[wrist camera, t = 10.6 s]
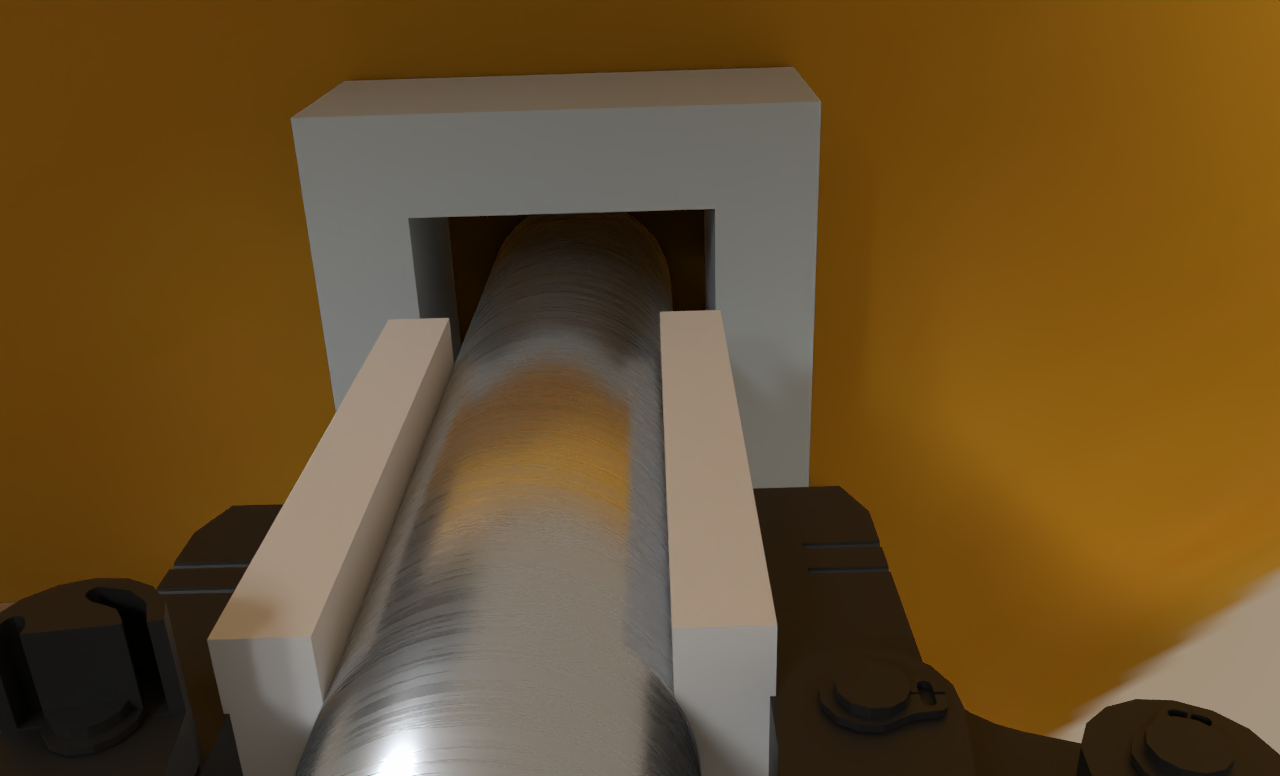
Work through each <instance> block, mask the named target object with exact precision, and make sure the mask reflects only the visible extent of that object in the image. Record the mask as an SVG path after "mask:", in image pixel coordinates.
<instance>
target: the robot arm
mask: <svg viewBox="0 0 1280 776" xmlns="http://www.w3.org/2000/svg"><path fill="white" fill-rule="evenodd" d="M660 342H661V373H662V399H663V424H664V450H665V476H666V502H667V528H668V553H669V579H670V605H671V631H672V657H673V682H674V698H675V700H676V701H677V703H678V704H679V706H680V708H681V709H682V711H683V712H684V714H685V715H686V718H687V720H688V722H689V724H690V726H691V729H692V731H693V733H694V736H695V740H696V743H697V747H698V751H699V754H700V765H701V775H702V776H1280V755H1279V754H1278V753H1277V752H1276V751H1275V750H1274V749H1272V748H1271V747H1270V746H1269V745H1268V744H1266V743H1265V742H1264V741H1263V740H1262V739H1260V738H1259V737H1258V736H1257V735H1256V734H1255V733H1253V732H1252V731H1251V730H1250V729H1248V728H1246V727H1244V726H1242V725H1240V724H1238V723H1236V722H1234V721H1232V720H1230V719H1228V718H1226V717H1224V716H1222V715H1220V714H1218V713H1216V712H1214V711H1211V710H1208V709H1203V708H1200V707H1196V706H1192V705H1188V704H1185V703H1181V702H1177V701H1172V700H1141V699H1135V700H1131V701H1128V702H1124V703H1120V704H1116V705H1112V706H1108V707H1106V708H1104V709H1103V710H1102V711H1101V712H1100V713H1098V714H1097V715H1096V716H1095V717H1094V718H1092V719H1091V720H1090V721H1089V722H1087V724H1086V728H1085V732H1084V735H1083V739H1082V743H1081V744H1080V743H1076V742H1071V741H1066V740H1061V739H1056V738H1051V737H1046V736H1041V735H1036V734H1031V733H1026V732H1022V731H1018V730H1015V729H1011V728H1008V727H1004V726H1001V725H997V724H994V723H992V722H990V721H987V720H985V719H983V718H981V717H979V716H976V715H974V714H972V713H970V712H968V711H967V710H965V709H964V707H963V705H962V703H961V701H960V699H959V697H958V695H957V693H956V690H955V688H954V686H953V685H952V684H951V683H950V682H949V681H948V680H947V679H945V678H944V677H943V676H942V675H941V674H940V673H938V672H937V671H936V670H935V669H934V668H933V667H931V666H930V665H928V664H925V663H923V662H922V659H921V656H920V653H919V651H918V648H917V645H916V642H915V639H914V637H913V634H912V631H911V628H910V625H909V623H908V620H907V617H906V614H905V611H904V609H903V606H902V603H901V600H900V597H899V595H898V592H897V589H896V586H895V583H894V580H893V578H892V575H891V572H889V571H888V564H887V561H886V558H885V555H884V552H883V550H882V547H880V544H879V542H880V541H879V538H878V536H877V533H876V530H875V527H874V524H873V522H872V519H871V516H870V513H869V511H868V510H867V509H866V508H864V507H863V506H862V505H861V504H860V503H859V502H857V501H856V500H855V499H854V498H853V497H852V496H850V495H849V494H848V493H847V492H846V491H844V490H843V489H842V488H841V487H840V486H824V487H786V488H753V487H752V482H751V476H750V471H749V465H748V459H747V454H746V448H745V443H744V437H743V432H742V426H741V421H740V415H739V410H738V404H737V398H736V393H735V387H734V382H733V376H732V371H731V365H730V360H729V354H728V348H727V343H726V337H725V332H724V326H723V321H722V315H721V310H704V311H669V312H660ZM453 368H454V359H453V349H452V340H451V331H450V321H449V318H427V319H392V320H388V322H387V323H386V325H385V327H384V329H383V331H382V332H381V334H380V336H379V338H378V339H377V341H376V343H375V345H374V346H373V348H372V350H371V352H370V353H369V355H368V357H367V359H366V360H365V362H364V364H363V366H362V368H361V369H360V371H359V373H358V375H357V376H356V378H355V380H354V382H353V383H352V385H351V387H350V389H349V390H348V392H347V394H346V396H345V397H344V399H343V401H342V403H341V404H340V406H339V408H338V410H337V412H336V413H335V415H334V417H333V419H332V420H331V422H330V424H329V426H328V427H327V429H326V431H325V433H324V434H323V436H322V438H321V440H320V441H319V443H318V445H317V447H316V448H315V450H314V452H313V454H312V456H311V457H310V459H309V461H308V463H307V464H306V466H305V468H304V470H303V471H302V473H301V475H300V477H299V478H298V480H297V482H296V484H295V485H294V487H293V489H292V491H291V492H290V494H289V496H288V498H287V500H286V501H285V503H284V504H282V505H244V506H232V507H230V508H229V509H227V510H226V511H225V512H223V513H222V514H220V515H219V516H217V517H216V518H215V519H213V520H212V521H210V522H209V523H208V524H206V525H205V526H203V527H202V528H201V529H199V530H198V531H196V532H195V533H194V534H193V536H192V537H191V539H190V540H189V542H188V543H187V545H186V546H185V548H184V549H183V551H182V552H181V554H180V555H179V556H178V558H177V559H176V561H175V562H174V569H170V570H169V571H168V573H167V574H166V576H165V577H164V579H163V580H162V581H161V583H160V584H159V586H158V587H157V591H156V589H155V588H154V587H153V586H150V585H147V584H144V583H141V582H138V581H134V580H131V579H121V578H94V579H89V580H84V581H79V582H73V583H68V584H63V585H58V586H55V587H53V588H50V589H47V590H45V591H42V592H39V593H37V594H34V595H31V596H29V597H26V598H23V599H21V600H20V601H18V602H16V603H15V604H13V605H11V606H10V607H8V608H6V609H5V610H3V611H1V612H0V776H294V775H295V772H296V769H297V767H298V764H299V762H300V759H301V757H302V754H303V752H304V749H305V746H306V744H307V741H308V739H309V736H310V734H311V731H312V728H313V726H314V723H315V721H316V719H317V716H318V714H319V712H320V709H321V707H322V705H323V703H324V700H325V697H326V695H327V692H328V690H329V687H330V684H331V682H332V679H333V677H334V674H335V672H336V669H337V666H338V664H339V661H340V659H341V656H342V654H343V651H344V648H345V646H346V643H347V641H348V638H349V635H350V633H351V630H352V628H353V625H354V623H355V620H356V617H357V615H358V612H359V610H360V607H361V605H362V602H363V599H364V597H365V594H366V592H367V589H368V586H369V584H370V581H371V579H372V576H373V574H374V571H375V568H376V566H377V563H378V561H379V558H380V556H381V553H382V550H383V548H384V545H385V543H386V540H387V538H388V535H389V532H390V530H391V527H392V525H393V522H394V520H395V517H396V514H397V512H398V509H399V507H400V504H401V502H402V499H403V496H404V494H405V491H406V489H407V486H408V484H409V481H410V478H411V476H412V473H413V471H414V468H415V466H416V463H417V460H418V458H419V455H420V453H421V450H422V448H423V445H424V443H425V440H426V437H427V435H428V432H429V430H430V427H431V425H432V422H433V419H434V417H435V414H436V412H437V409H438V407H439V404H440V401H441V399H442V396H443V394H444V391H445V389H446V386H447V383H448V381H449V378H450V376H451V373H452V371H453Z"/></svg>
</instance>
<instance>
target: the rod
mask: <svg viewBox="0 0 1280 776" xmlns="http://www.w3.org/2000/svg"><path fill="white" fill-rule="evenodd" d="M669 311H673V309H672V293H671V280H670V272H669V268H668V264H667V261H666V258H665V256H664V253H663V251H662V249H661V248H660V246H659V244H658V242H657V241H656V240H655V238H654V237H653V235H652V234H651V233H650V232H649V231H648V230H647V229H646V228H645V227H644V226H643V225H642V224H641V223H640V222H639V221H637V220H636V219H635V218H634V217H632V216H630V215H629V214H627V213H625V212H595V213H561V214H531V215H529V216H528V217H527V218H525V219H524V220H522V221H521V222H520V223H519V224H518V225H517V226H516V227H515V228H514V229H513V230H512V231H511V232H510V234H509V235H508V236H507V237H506V239H505V241H504V242H503V244H502V246H501V247H500V250H499V252H498V255H497V257H496V259H495V262H494V265H493V267H492V270H491V272H490V275H489V277H488V280H487V283H486V285H485V288H484V290H483V293H482V295H481V298H480V300H479V303H478V306H477V308H476V311H475V313H474V316H473V318H472V321H471V324H470V326H469V329H468V331H467V334H466V336H465V339H464V341H463V344H462V347H461V349H460V352H459V354H458V357H457V359H456V362H455V365H454V368H453V371H452V373H451V376H450V378H449V381H448V383H447V386H446V389H445V391H444V394H443V396H442V399H441V401H440V404H439V407H438V409H437V412H436V414H435V417H434V419H433V422H432V425H431V427H430V430H429V432H428V435H427V437H426V440H425V443H424V445H423V448H422V450H421V453H420V455H419V458H418V460H417V463H416V466H415V468H414V471H413V473H412V476H411V478H410V481H409V484H408V486H407V489H406V491H405V494H404V496H403V499H402V502H401V504H400V507H399V509H398V512H397V514H396V517H395V520H394V522H393V525H392V527H391V530H390V532H389V535H388V538H387V540H386V543H385V545H384V548H383V550H382V553H381V556H380V558H379V561H378V563H377V566H376V568H375V571H374V574H373V576H372V579H371V581H370V584H369V586H368V589H367V592H366V594H365V597H364V599H363V602H362V605H361V607H360V610H359V612H358V615H357V617H356V620H355V623H354V625H353V628H352V630H351V633H350V635H349V638H348V641H347V643H346V646H345V648H344V651H343V654H342V656H341V659H340V661H339V664H338V666H337V669H336V672H335V674H334V677H333V679H332V682H331V684H330V687H329V690H328V692H327V695H326V697H325V700H324V703H323V705H322V707H321V709H320V712H319V714H318V716H317V719H316V721H315V723H314V726H313V728H312V731H311V734H310V736H309V739H308V741H307V744H306V746H305V749H304V752H303V754H302V757H301V759H300V762H299V764H298V767H297V769H296V772H295V775H294V776H702V775H701V765H700V754H699V751H698V747H697V743H696V740H695V736H694V733H693V731H692V729H691V726H690V724H689V722H688V720H687V718H686V715H685V714H684V712H683V711H682V709H681V708H680V706H679V704H678V703H677V701H676V700H675V698H674V682H673V657H672V631H671V605H670V579H669V553H668V528H667V502H666V476H665V450H664V424H663V399H662V373H661V342H660V312H669Z"/></svg>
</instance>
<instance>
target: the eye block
mask: <svg viewBox="0 0 1280 776" xmlns="http://www.w3.org/2000/svg"><path fill="white" fill-rule="evenodd" d="M290 119H291V126H292V132H293V139H294V145H295V152H296V158H297V165H298V171H299V178H300V184H301V190H302V197H303V203H304V210H305V216H306V223H307V229H308V236H309V242H310V249H311V255H312V262H313V268H314V275H315V281H316V288H317V294H318V301H319V307H320V314H321V320H322V327H323V333H324V339H325V346H326V352H327V359H328V365H329V372H330V378H331V385H332V391H333V398H334V404H335V411H336V412H337V410H338V408H339V406H340V404H341V403H342V401H343V399H344V397H345V396H346V394H347V392H348V390H349V389H350V387H351V385H352V383H353V382H354V380H355V378H356V376H357V375H358V373H359V371H360V369H361V368H362V366H363V364H364V362H365V360H366V359H367V357H368V355H369V353H370V352H371V350H372V348H373V346H374V345H375V343H376V341H377V339H378V338H379V336H380V334H381V332H382V331H383V329H384V327H385V325H386V323H387V322H388V320H392V319H427V318H449V321H450V331H451V340H452V349H453V359H454V365H455V362H456V359H457V357H458V354H459V352H460V349H461V340H460V330H459V321H458V311H457V301H456V291H455V281H454V272H453V262H452V252H451V242H450V233H449V223H448V217H461V216H495V215H528V214H561V213H595V212H628V211H661V210H695V209H705V310H721V315H722V321H723V326H724V332H725V337H726V343H727V348H728V354H729V360H730V365H731V371H732V376H733V382H734V387H735V393H736V398H737V404H738V410H739V415H740V421H741V426H742V432H743V437H744V443H745V448H746V454H747V459H748V465H749V471H750V476H751V482H752V487H753V488H786V487H809V462H810V432H811V402H812V372H813V342H814V312H815V281H816V251H817V221H818V191H819V161H820V130H821V100H820V99H819V98H818V97H817V95H816V94H815V93H814V91H813V90H812V89H811V88H810V86H809V85H808V84H807V83H806V81H805V80H804V79H803V78H802V76H801V75H800V74H799V73H798V71H797V70H796V69H795V68H794V67H767V68H736V69H704V70H673V71H641V72H609V73H578V74H546V75H515V76H483V77H451V78H420V79H388V80H357V81H343V82H342V83H340V84H339V85H338V86H336V87H335V88H333V89H332V90H330V91H329V92H327V93H326V94H324V95H323V96H322V97H320V98H319V99H317V100H316V101H314V102H313V103H311V104H310V105H309V106H307V107H306V108H304V109H303V110H301V111H300V112H298V113H297V114H296V115H294V116H293V117H291V118H290Z"/></svg>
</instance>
